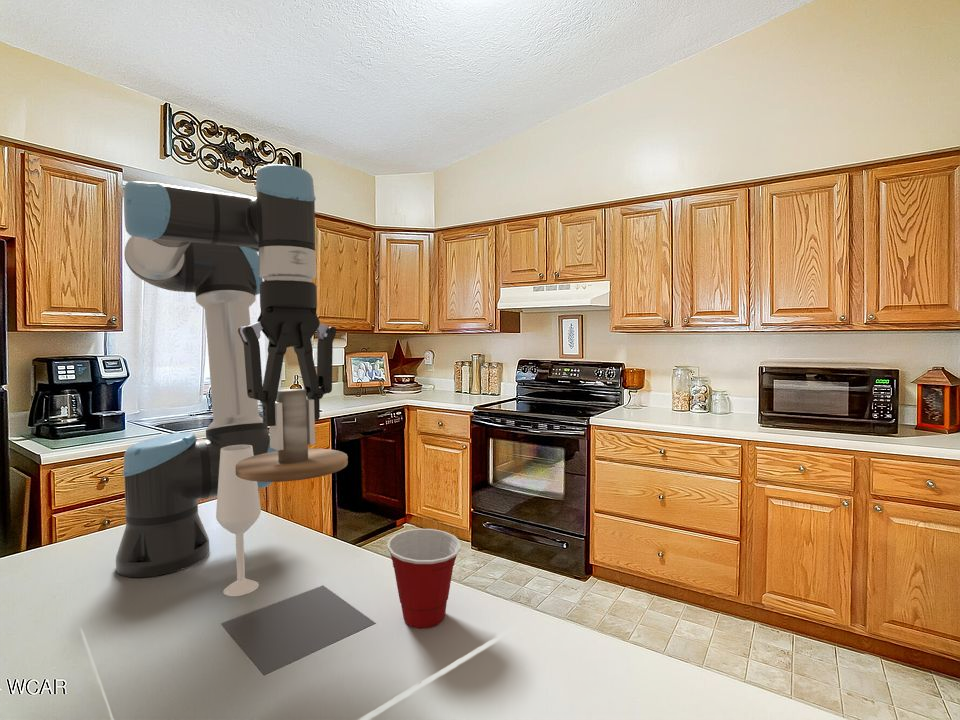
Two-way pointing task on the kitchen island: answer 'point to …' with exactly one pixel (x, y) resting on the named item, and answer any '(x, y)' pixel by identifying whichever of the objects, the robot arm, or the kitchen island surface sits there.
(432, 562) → the plastic cup
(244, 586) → the champagne flute
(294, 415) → the lid
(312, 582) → the kitchen island surface
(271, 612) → the mat
